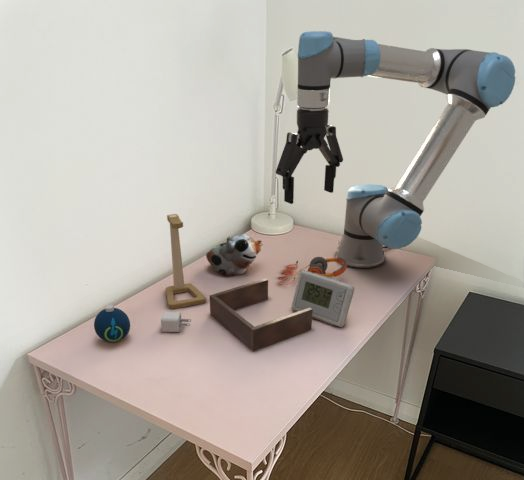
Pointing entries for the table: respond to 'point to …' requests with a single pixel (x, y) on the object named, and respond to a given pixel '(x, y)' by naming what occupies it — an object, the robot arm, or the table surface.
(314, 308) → the digital clock
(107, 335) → the christmas ornament
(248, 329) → the walnut rack
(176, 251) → the headphone stand
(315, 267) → the headphones
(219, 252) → the spotted toy animal
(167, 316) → the usb wall charger
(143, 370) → the table surface
